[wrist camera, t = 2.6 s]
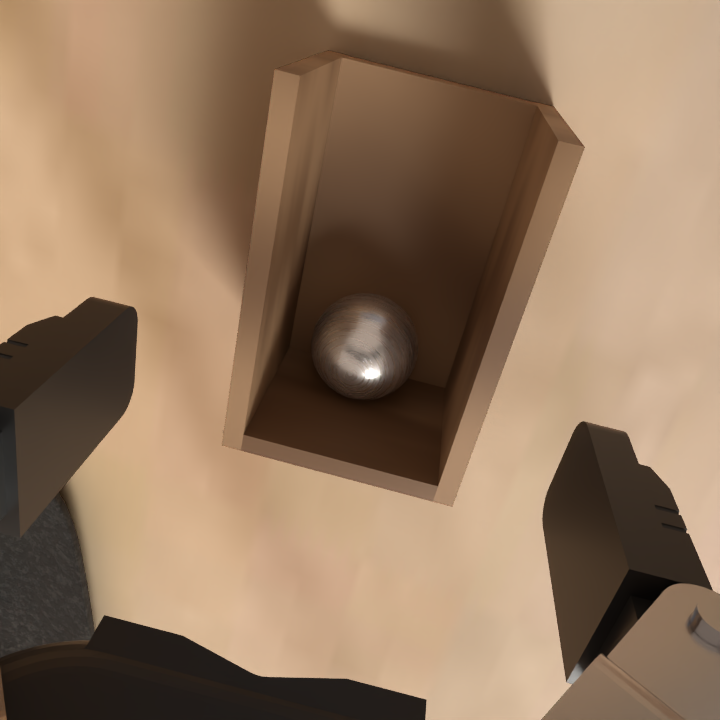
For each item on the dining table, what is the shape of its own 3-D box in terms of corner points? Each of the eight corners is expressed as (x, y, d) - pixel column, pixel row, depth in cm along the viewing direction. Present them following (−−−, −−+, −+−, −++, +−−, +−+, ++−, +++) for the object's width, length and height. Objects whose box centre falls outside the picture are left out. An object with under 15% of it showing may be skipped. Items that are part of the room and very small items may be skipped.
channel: (456, 395, 22) (452, 506, 17) (276, 348, 22) (221, 445, 17) (553, 106, 18) (584, 147, 13) (328, 50, 18) (274, 69, 13)
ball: (371, 255, 19) (340, 300, 17) (449, 325, 20) (429, 379, 17) (311, 319, 21) (275, 369, 18) (383, 382, 21) (357, 439, 19)
